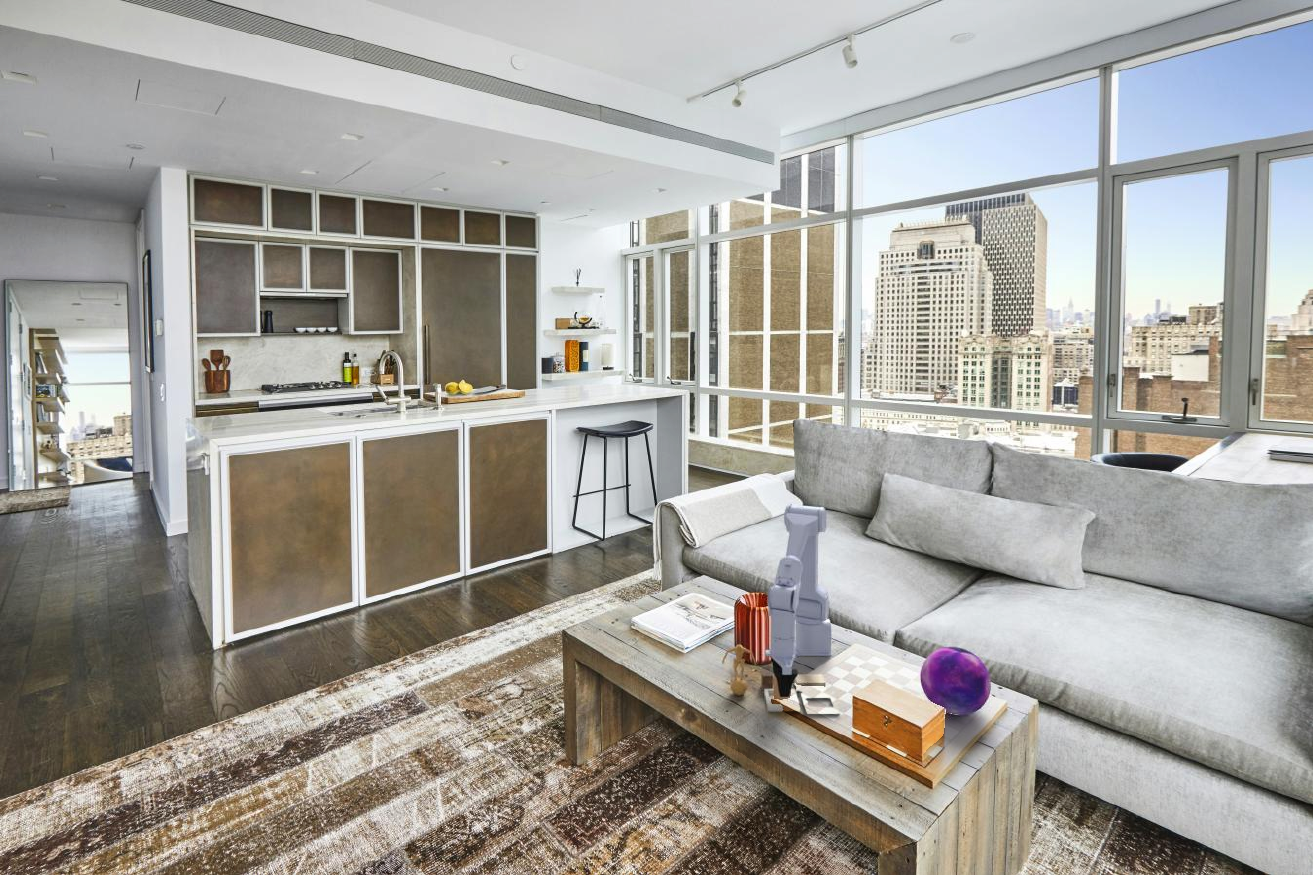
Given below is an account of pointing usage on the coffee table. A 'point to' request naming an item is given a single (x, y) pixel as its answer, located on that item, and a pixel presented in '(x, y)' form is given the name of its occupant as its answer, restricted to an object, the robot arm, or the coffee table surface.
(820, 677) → the cream rectangular block
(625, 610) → the coffee table surface
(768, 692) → the tray
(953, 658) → the decorative orb
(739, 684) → the figurine
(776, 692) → the dowel
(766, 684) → the brown rectangular block
